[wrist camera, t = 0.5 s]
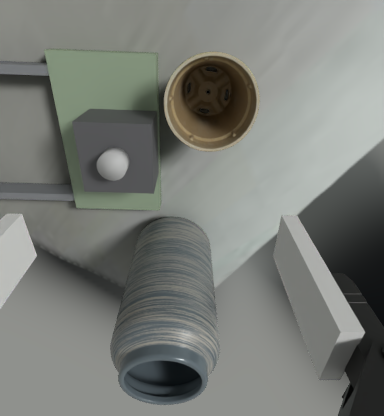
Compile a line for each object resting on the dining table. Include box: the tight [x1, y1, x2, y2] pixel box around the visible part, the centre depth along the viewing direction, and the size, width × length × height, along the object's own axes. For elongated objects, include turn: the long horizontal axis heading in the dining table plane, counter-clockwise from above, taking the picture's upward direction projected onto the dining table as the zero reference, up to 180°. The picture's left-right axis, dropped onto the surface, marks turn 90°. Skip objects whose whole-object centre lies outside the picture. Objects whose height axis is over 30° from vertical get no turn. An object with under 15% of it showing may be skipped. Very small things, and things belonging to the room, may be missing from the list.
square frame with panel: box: [0, 49, 161, 210], centre depth 34 cm, size 20×25×10 cm
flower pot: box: [164, 52, 260, 152], centre depth 32 cm, size 9×9×9 cm
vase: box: [110, 217, 220, 405], centre depth 37 cm, size 12×12×23 cm
